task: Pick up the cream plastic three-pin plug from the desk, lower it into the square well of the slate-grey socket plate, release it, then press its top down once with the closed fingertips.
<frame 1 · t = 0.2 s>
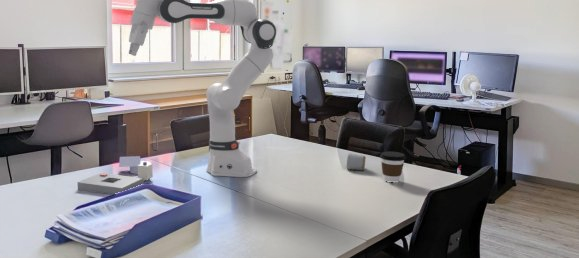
hand: (131, 54, 200), 51 cm above the table, tool tilted 20°, fingers open, 8 cm apart
grey rounded block: (355, 169, 233), on the table
coffee cup: (391, 181, 214), on the table
wedge on round base: (135, 171, 220), on the table
socket plate: (111, 187, 196), on the table
plug: (145, 180, 206), on the table
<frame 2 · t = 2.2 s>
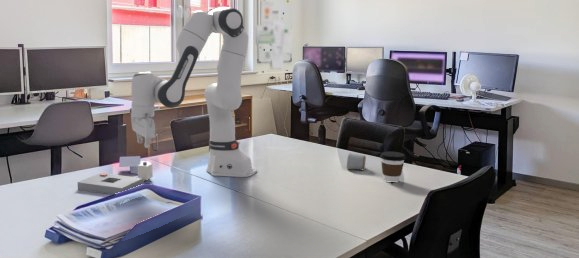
hand: (143, 145, 203), 15 cm above the table, tool pointing down, fingers open, 8 cm apart
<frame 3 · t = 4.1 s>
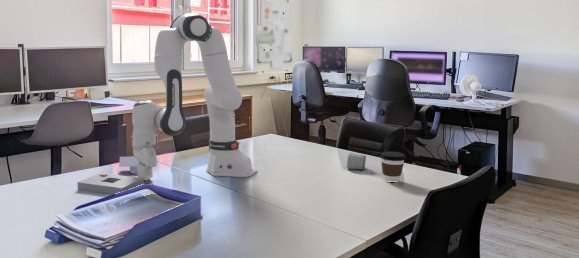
hand: (145, 172, 205), 3 cm above the table, tool pointing down, fingers closed on plug, 6 cm apart
plug: (145, 180, 206), on the table, touching gripper
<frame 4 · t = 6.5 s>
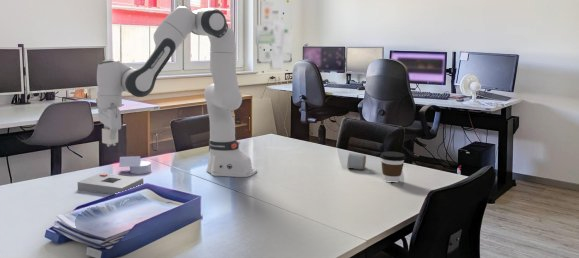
hand: (110, 137, 192), 20 cm above the table, tool pointing down, fingers closed on plug, 6 cm apart
plug: (110, 145, 193), point 17 cm above the table, touching gripper
when the fingers open (5 cm above the table, at t = 9.2 s): plug stays where it is, resting on socket plate.
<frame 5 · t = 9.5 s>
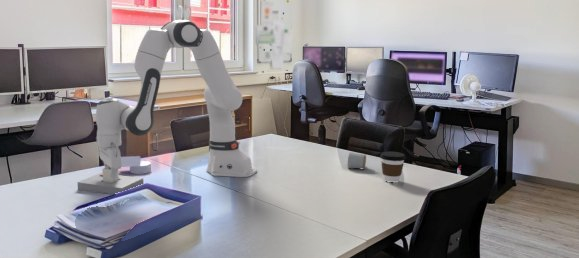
hand: (110, 175, 195), 5 cm above the table, tool pointing down, fingers open, 8 cm apart
plug: (111, 184, 196), point 1 cm above the table, touching socket plate
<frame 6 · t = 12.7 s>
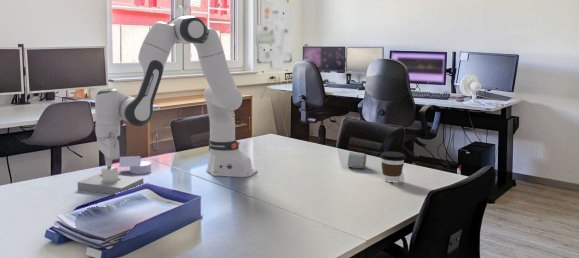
hand: (108, 165, 194), 9 cm above the table, tool pointing down, fingers closed, pressing on plug
plug: (111, 184, 196), point 1 cm above the table, touching gripper, socket plate
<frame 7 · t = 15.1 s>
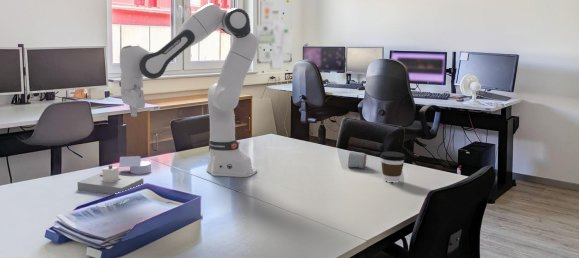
hand: (134, 116, 211), 25 cm above the table, tool pointing down, fingers closed
plug: (111, 184, 196), point 1 cm above the table, touching socket plate
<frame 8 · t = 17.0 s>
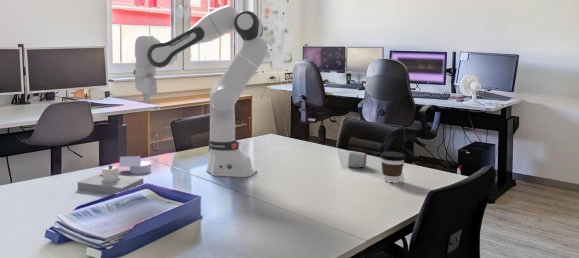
hand: (146, 102, 224), 29 cm above the table, tool pointing down, fingers closed
at the end: plug 0.0 cm off-centre on the socket plate, point 1.1 cm above the socket plate's base; plug tilted 0°; the gripper is holding nothing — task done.
